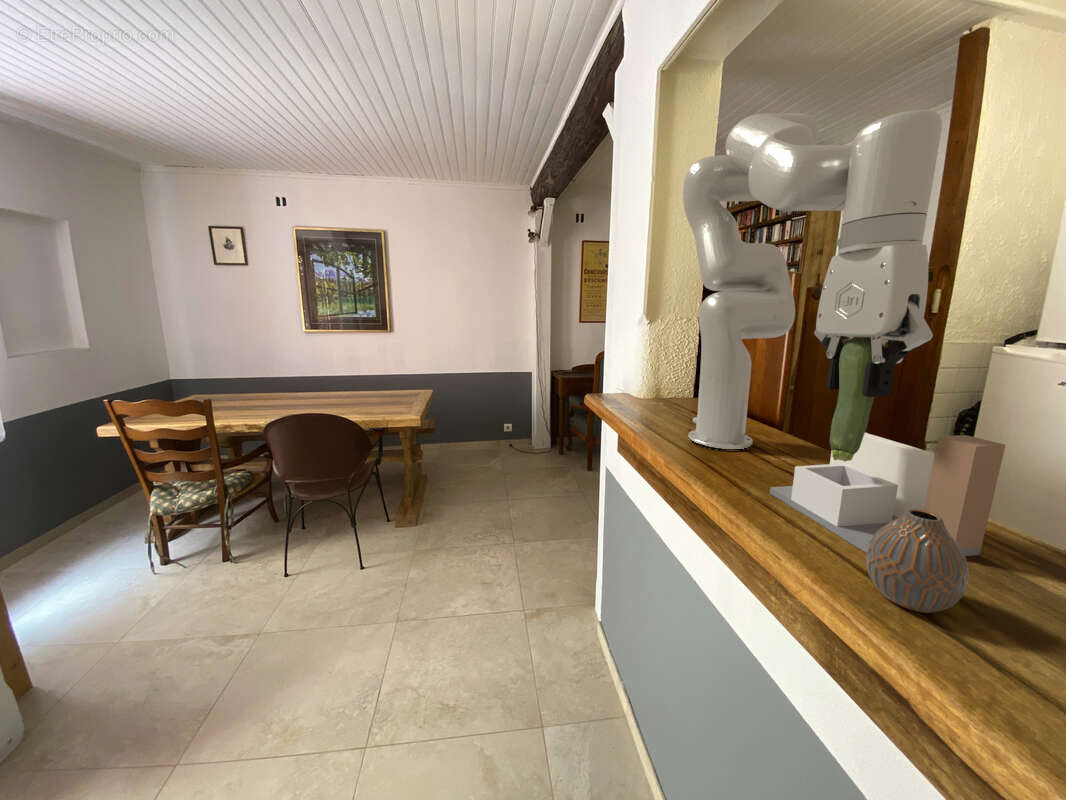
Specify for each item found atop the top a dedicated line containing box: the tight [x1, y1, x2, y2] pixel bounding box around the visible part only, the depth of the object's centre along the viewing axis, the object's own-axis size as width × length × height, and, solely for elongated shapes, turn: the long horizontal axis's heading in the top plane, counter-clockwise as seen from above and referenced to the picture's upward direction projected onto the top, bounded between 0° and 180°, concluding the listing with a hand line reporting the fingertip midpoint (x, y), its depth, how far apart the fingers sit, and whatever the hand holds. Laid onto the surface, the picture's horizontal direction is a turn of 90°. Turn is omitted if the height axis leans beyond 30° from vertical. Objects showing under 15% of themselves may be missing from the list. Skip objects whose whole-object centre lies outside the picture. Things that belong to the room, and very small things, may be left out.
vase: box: [865, 509, 970, 614], centre depth 37 cm, size 7×7×9 cm
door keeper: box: [769, 432, 1007, 557], centre depth 52 cm, size 18×12×13 cm, turn 7°
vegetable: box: [829, 337, 875, 461], centre depth 50 cm, size 4×4×20 cm
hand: (856, 390), depth 50 cm, fingers closed on vegetable, 4 cm apart
